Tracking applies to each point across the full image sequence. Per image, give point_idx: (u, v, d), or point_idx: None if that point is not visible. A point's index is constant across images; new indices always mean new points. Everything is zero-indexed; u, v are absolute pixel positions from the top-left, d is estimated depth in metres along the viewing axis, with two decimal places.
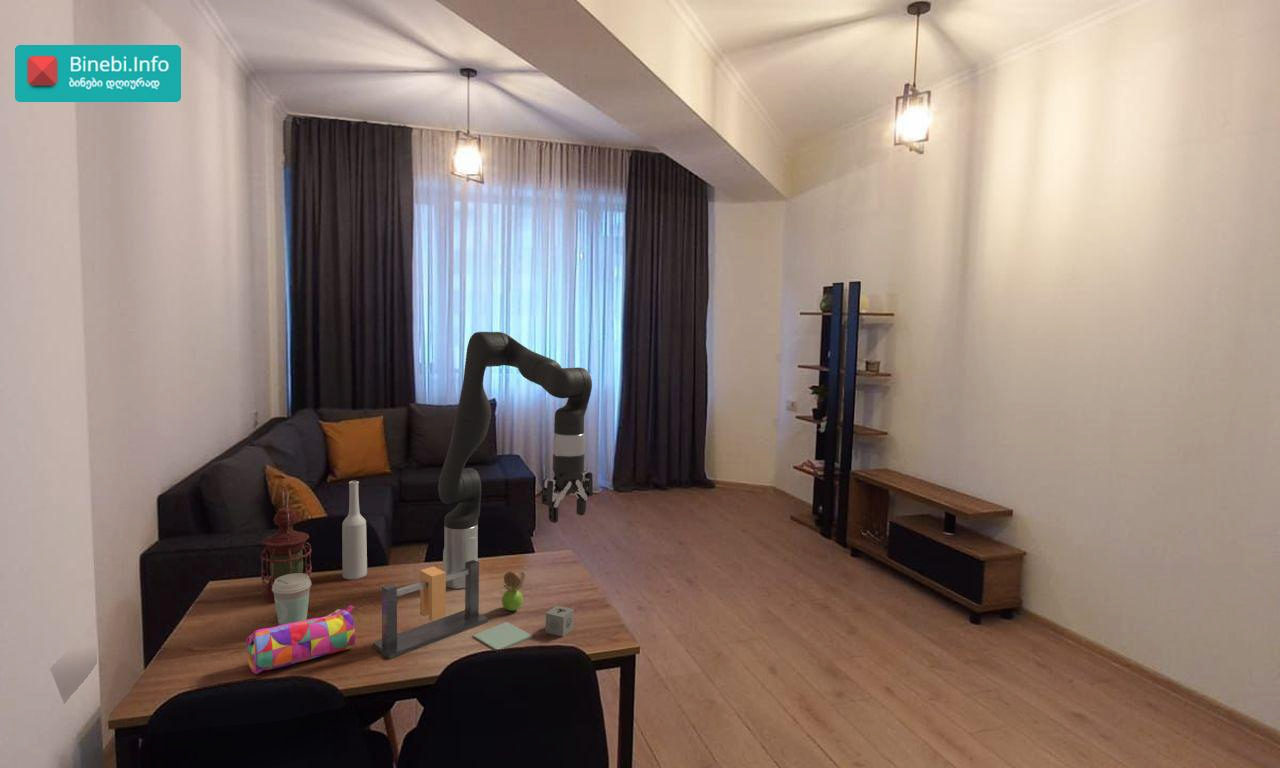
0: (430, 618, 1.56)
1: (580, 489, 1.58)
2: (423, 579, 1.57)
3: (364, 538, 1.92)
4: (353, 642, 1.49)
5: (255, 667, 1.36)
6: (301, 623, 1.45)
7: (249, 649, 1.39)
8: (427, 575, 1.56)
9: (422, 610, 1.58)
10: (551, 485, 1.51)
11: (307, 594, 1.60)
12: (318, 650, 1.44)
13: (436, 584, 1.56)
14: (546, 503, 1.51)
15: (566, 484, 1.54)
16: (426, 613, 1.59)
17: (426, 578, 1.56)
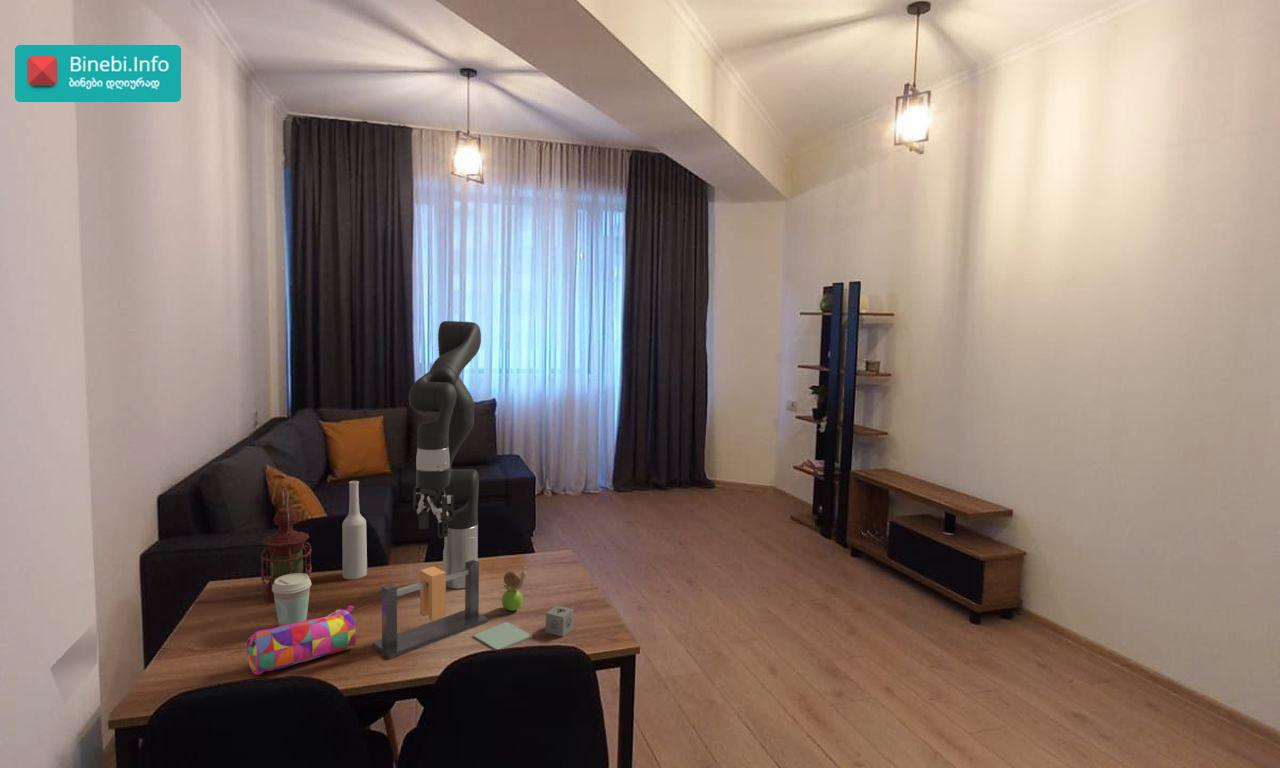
0: (430, 618, 1.56)
1: None
2: (423, 579, 1.57)
3: (364, 538, 1.92)
4: (354, 642, 1.49)
5: (257, 668, 1.36)
6: (302, 624, 1.45)
7: (250, 650, 1.38)
8: (427, 575, 1.56)
9: (422, 610, 1.58)
10: None
11: (307, 594, 1.60)
12: (319, 650, 1.44)
13: (436, 584, 1.56)
14: (451, 518, 1.52)
15: None
16: (426, 613, 1.59)
17: (426, 578, 1.56)
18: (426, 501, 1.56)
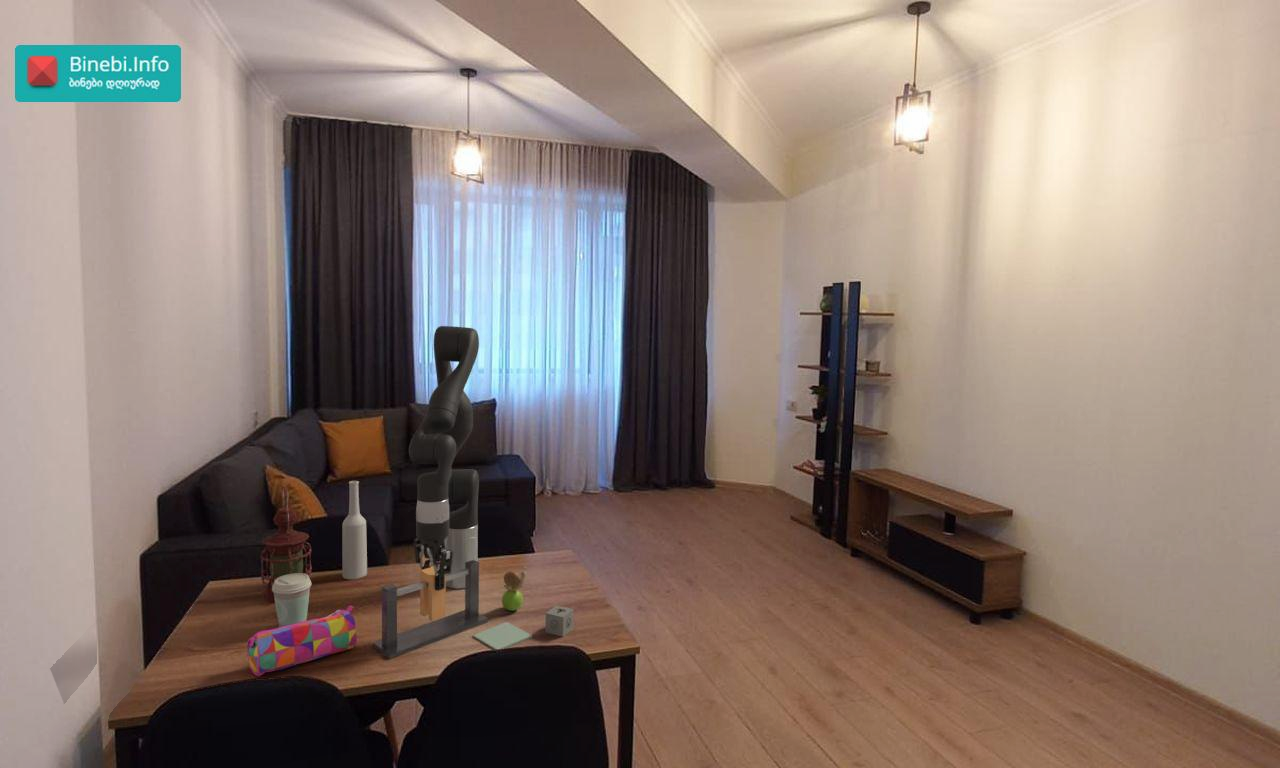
0: (430, 618, 1.56)
1: None
2: (423, 579, 1.57)
3: (364, 538, 1.92)
4: (354, 642, 1.49)
5: (258, 669, 1.36)
6: (302, 624, 1.44)
7: (251, 651, 1.38)
8: (427, 575, 1.56)
9: (422, 610, 1.58)
10: None
11: (307, 594, 1.60)
12: (320, 651, 1.44)
13: None
14: (448, 571, 1.54)
15: None
16: (426, 613, 1.59)
17: (426, 578, 1.56)
18: (427, 552, 1.57)
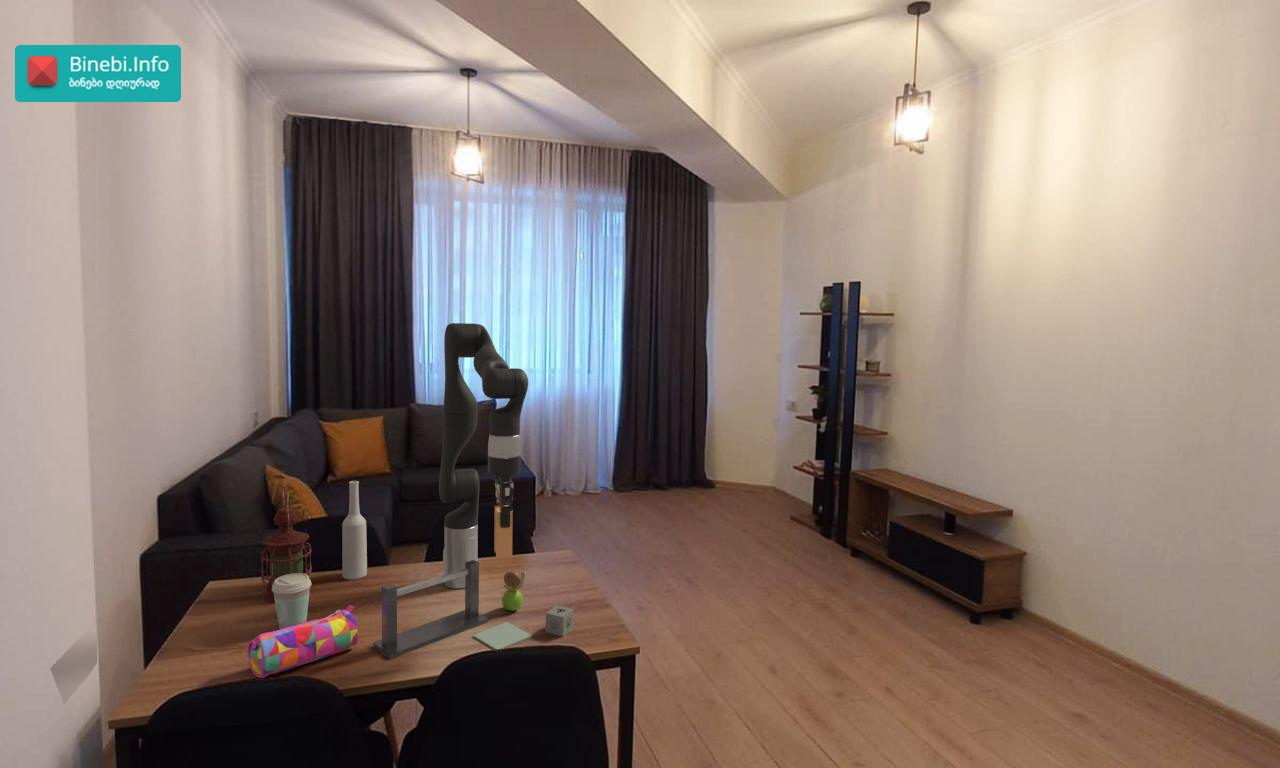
0: (496, 555, 1.54)
1: None
2: (495, 515, 1.56)
3: (364, 538, 1.92)
4: (356, 641, 1.50)
5: (262, 671, 1.35)
6: (304, 625, 1.44)
7: (254, 654, 1.37)
8: (496, 511, 1.55)
9: (494, 546, 1.58)
10: None
11: (307, 594, 1.60)
12: (323, 651, 1.44)
13: None
14: (509, 509, 1.50)
15: (512, 485, 1.54)
16: None
17: (495, 514, 1.55)
18: None
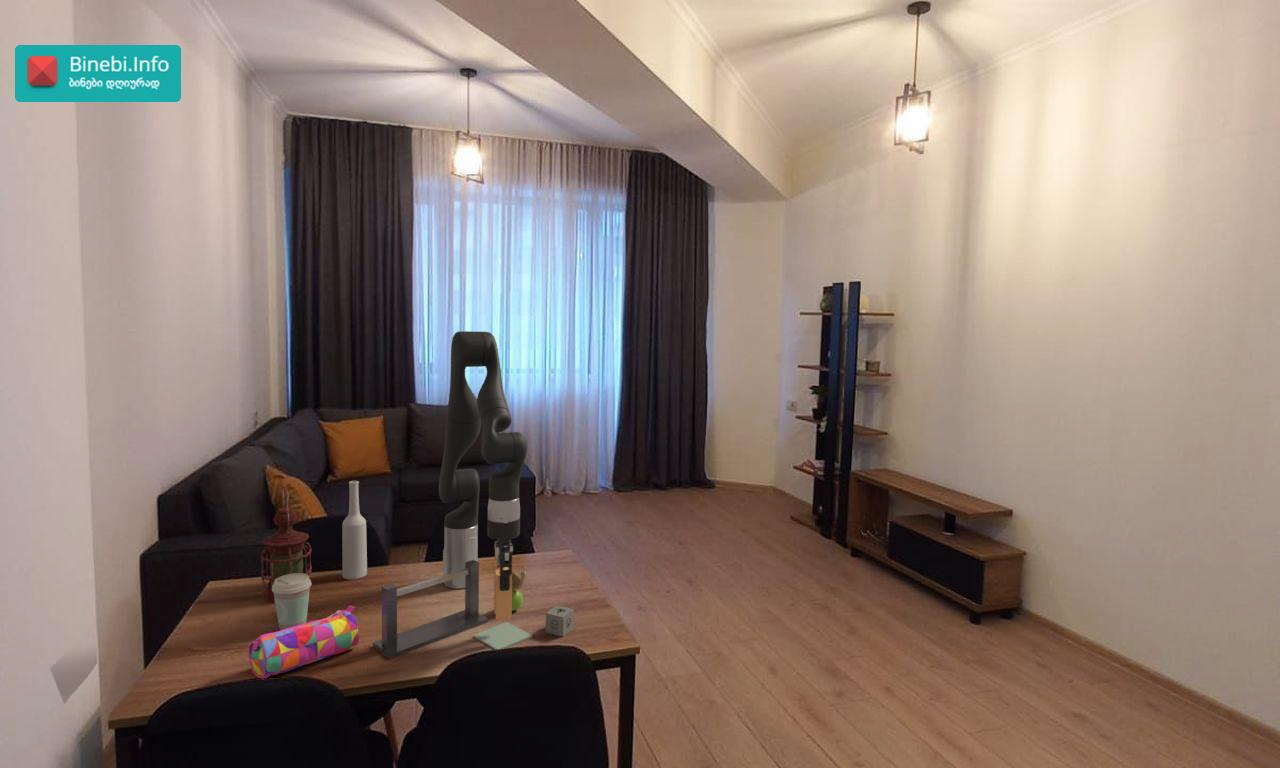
0: (496, 617, 1.56)
1: None
2: None
3: (364, 538, 1.92)
4: (357, 642, 1.50)
5: (264, 672, 1.35)
6: (305, 626, 1.44)
7: (255, 655, 1.36)
8: (495, 573, 1.56)
9: (494, 607, 1.59)
10: None
11: (307, 594, 1.60)
12: (324, 651, 1.44)
13: None
14: (508, 573, 1.52)
15: (511, 548, 1.55)
16: None
17: (495, 576, 1.56)
18: None
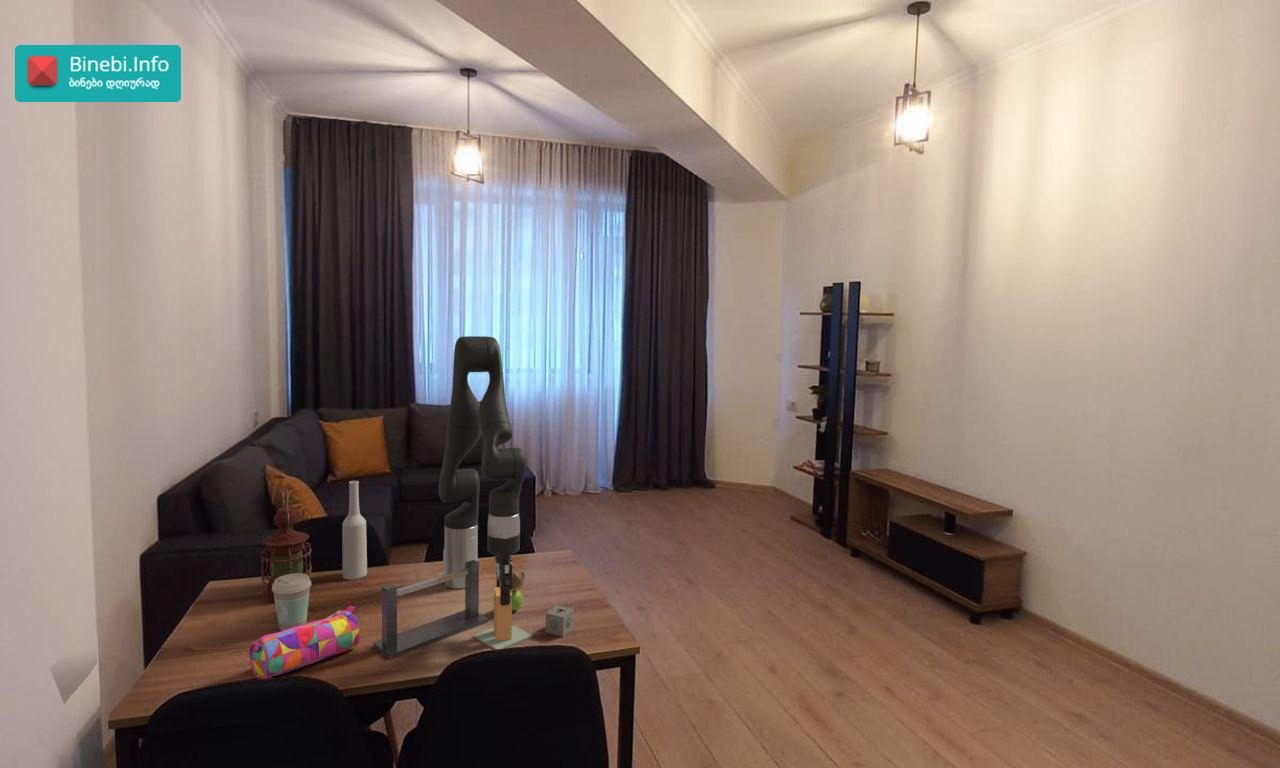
0: (495, 637, 1.56)
1: None
2: (494, 597, 1.58)
3: (364, 538, 1.92)
4: (357, 641, 1.50)
5: (266, 673, 1.34)
6: (306, 626, 1.43)
7: (256, 656, 1.36)
8: (495, 594, 1.56)
9: (494, 627, 1.59)
10: (511, 568, 1.51)
11: (307, 594, 1.60)
12: (325, 652, 1.44)
13: (501, 605, 1.55)
14: (509, 588, 1.51)
15: (511, 563, 1.55)
16: None
17: (495, 597, 1.57)
18: None
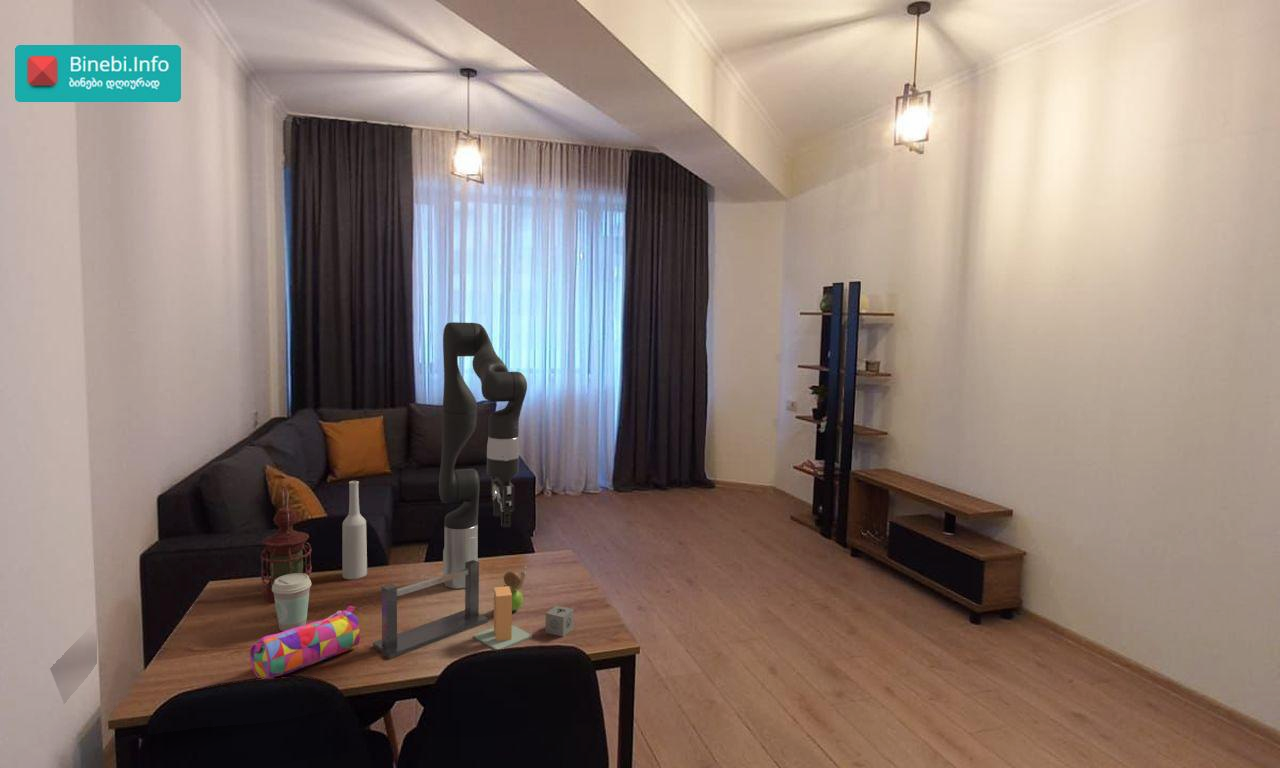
0: (495, 637, 1.56)
1: None
2: (494, 597, 1.58)
3: (364, 538, 1.92)
4: (358, 641, 1.50)
5: (268, 674, 1.34)
6: (307, 626, 1.43)
7: (258, 657, 1.36)
8: (495, 594, 1.56)
9: (494, 627, 1.59)
10: None
11: (307, 594, 1.60)
12: (326, 652, 1.44)
13: (501, 605, 1.55)
14: (511, 508, 1.52)
15: None
16: None
17: (495, 597, 1.57)
18: None
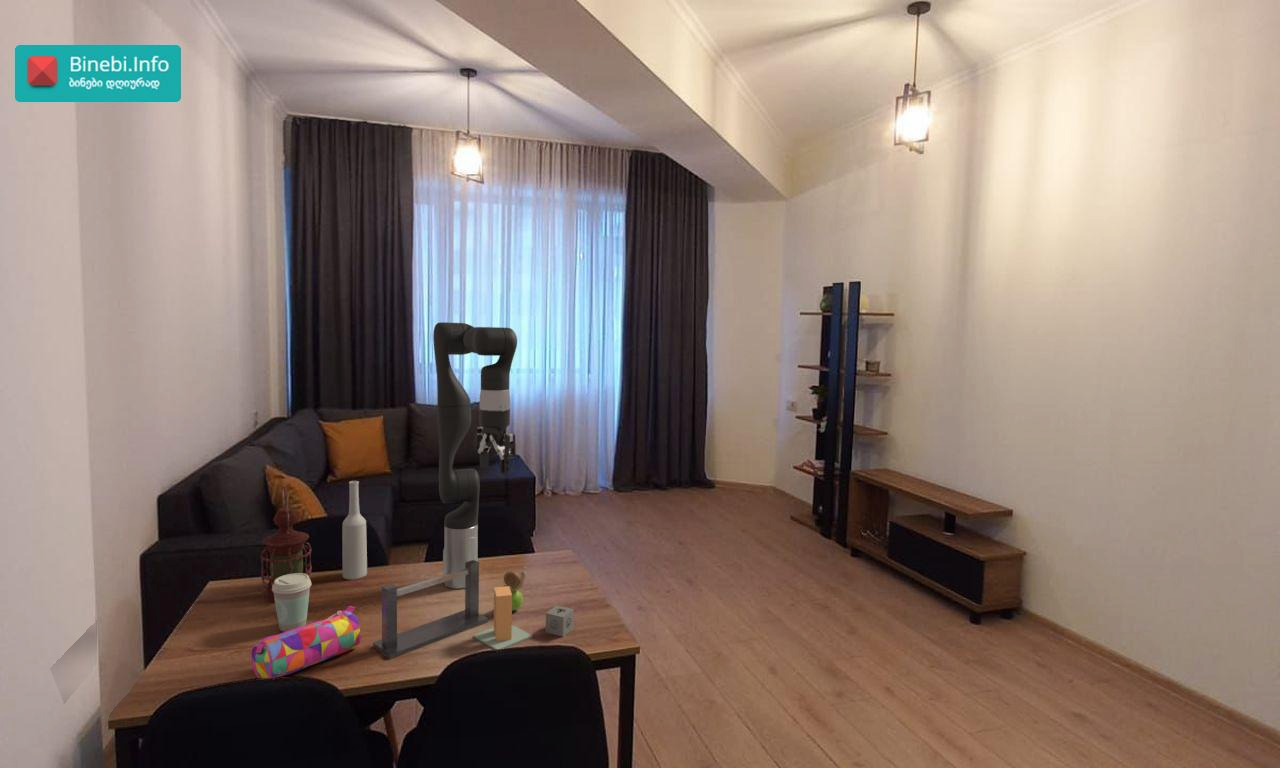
0: (495, 637, 1.56)
1: None
2: (494, 597, 1.58)
3: (364, 538, 1.92)
4: (359, 641, 1.50)
5: (270, 675, 1.34)
6: (308, 627, 1.43)
7: (259, 658, 1.35)
8: (495, 594, 1.56)
9: (494, 627, 1.59)
10: None
11: (307, 594, 1.60)
12: (328, 652, 1.44)
13: (501, 605, 1.55)
14: (513, 455, 1.61)
15: None
16: None
17: (495, 597, 1.57)
18: (488, 440, 1.65)
